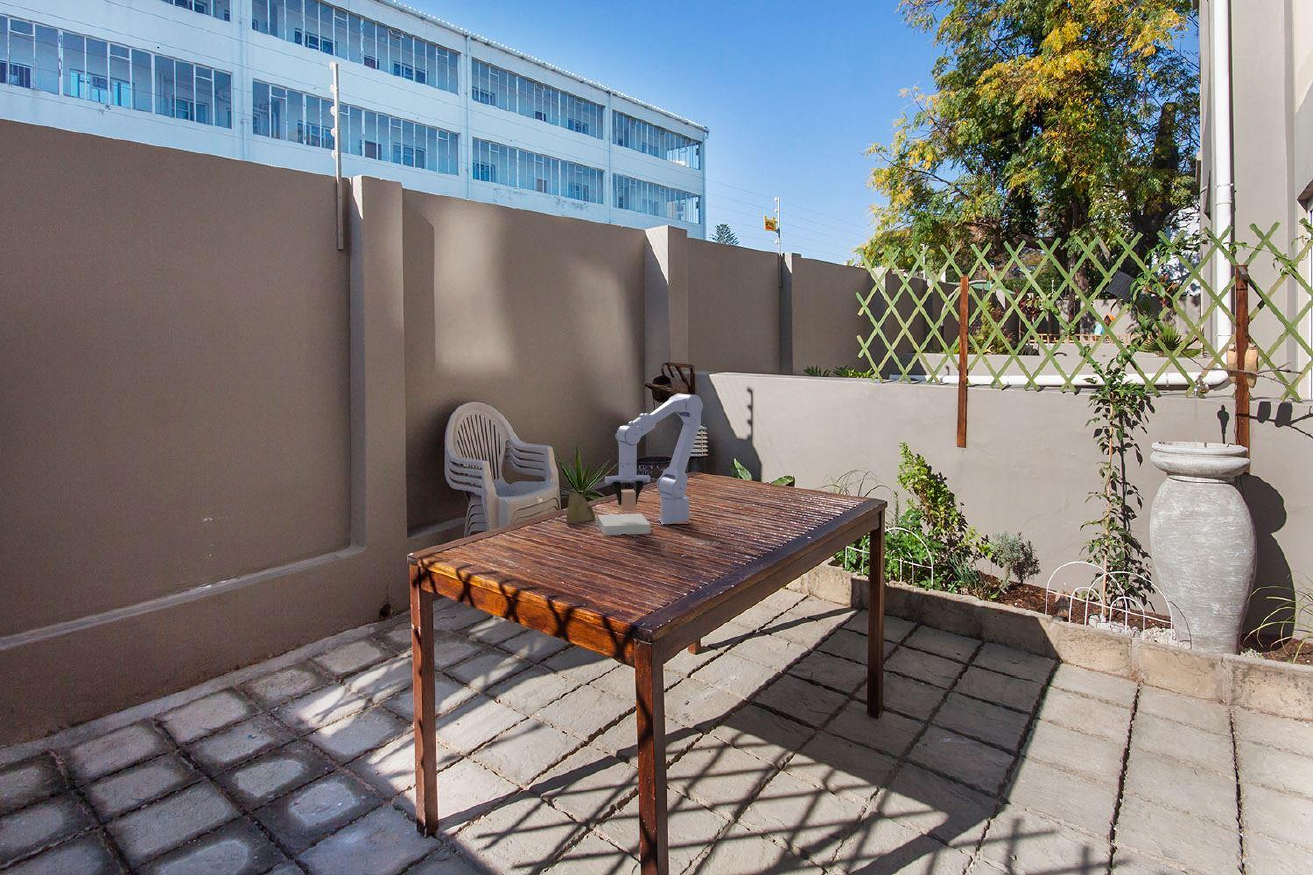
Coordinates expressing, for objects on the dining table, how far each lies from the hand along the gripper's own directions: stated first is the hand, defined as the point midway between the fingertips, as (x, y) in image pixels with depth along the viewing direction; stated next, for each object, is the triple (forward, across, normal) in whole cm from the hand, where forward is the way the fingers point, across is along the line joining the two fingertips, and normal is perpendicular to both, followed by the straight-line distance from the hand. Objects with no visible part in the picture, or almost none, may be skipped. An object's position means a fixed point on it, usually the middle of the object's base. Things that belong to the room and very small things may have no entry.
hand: (627, 504), depth 237 cm
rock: (+9, -13, +14) cm, 21 cm away
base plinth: (+8, -1, +2) cm, 9 cm away
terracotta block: (+2, 0, 0) cm, 2 cm away
